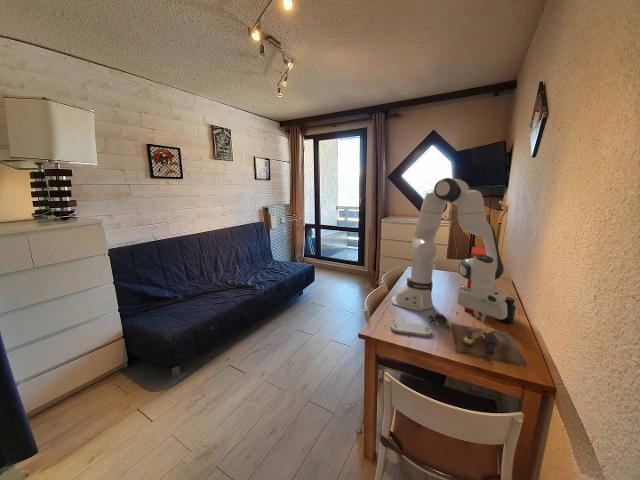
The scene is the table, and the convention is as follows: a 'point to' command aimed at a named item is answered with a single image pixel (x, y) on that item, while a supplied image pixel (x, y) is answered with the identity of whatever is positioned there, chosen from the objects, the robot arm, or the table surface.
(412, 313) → the table surface
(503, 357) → the walnut base plate
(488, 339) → the keeper hook
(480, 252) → the file binder
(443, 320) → the eagle figurine
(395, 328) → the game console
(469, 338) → the brass link
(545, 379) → the table surface
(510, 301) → the supplement bottle
